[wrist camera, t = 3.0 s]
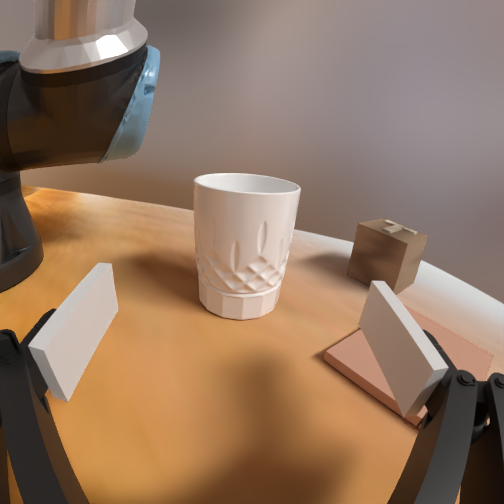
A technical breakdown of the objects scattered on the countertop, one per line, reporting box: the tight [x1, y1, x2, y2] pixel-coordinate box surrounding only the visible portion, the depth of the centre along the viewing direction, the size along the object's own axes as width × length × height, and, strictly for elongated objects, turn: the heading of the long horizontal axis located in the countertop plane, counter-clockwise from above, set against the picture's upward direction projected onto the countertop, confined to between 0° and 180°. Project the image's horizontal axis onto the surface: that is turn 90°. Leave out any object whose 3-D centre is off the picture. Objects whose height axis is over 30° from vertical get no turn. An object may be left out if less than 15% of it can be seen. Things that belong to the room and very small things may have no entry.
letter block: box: [347, 218, 427, 295], centre depth 30 cm, size 6×6×6 cm
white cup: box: [194, 173, 301, 320], centre depth 23 cm, size 8×8×10 cm
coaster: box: [324, 304, 494, 429], centre depth 18 cm, size 11×11×1 cm
